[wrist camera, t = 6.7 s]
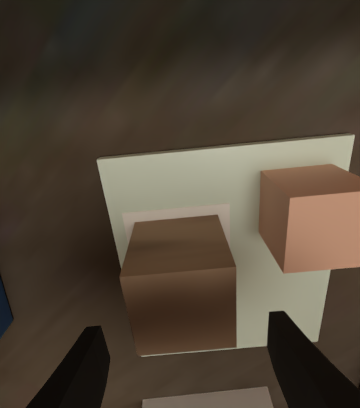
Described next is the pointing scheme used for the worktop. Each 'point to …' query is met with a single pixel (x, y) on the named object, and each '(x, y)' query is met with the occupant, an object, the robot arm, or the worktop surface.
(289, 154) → the baseplate
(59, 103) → the worktop surface
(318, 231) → the terracotta block
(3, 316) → the protein box
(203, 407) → the milk
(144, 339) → the walnut cube
